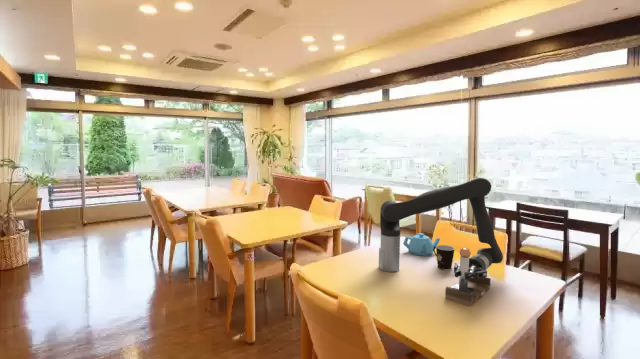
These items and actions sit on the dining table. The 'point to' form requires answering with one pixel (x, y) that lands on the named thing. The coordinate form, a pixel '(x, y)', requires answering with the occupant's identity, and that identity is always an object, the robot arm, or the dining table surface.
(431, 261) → the dining table surface
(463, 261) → the handle
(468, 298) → the base
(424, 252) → the teapot
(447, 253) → the coffee mug
